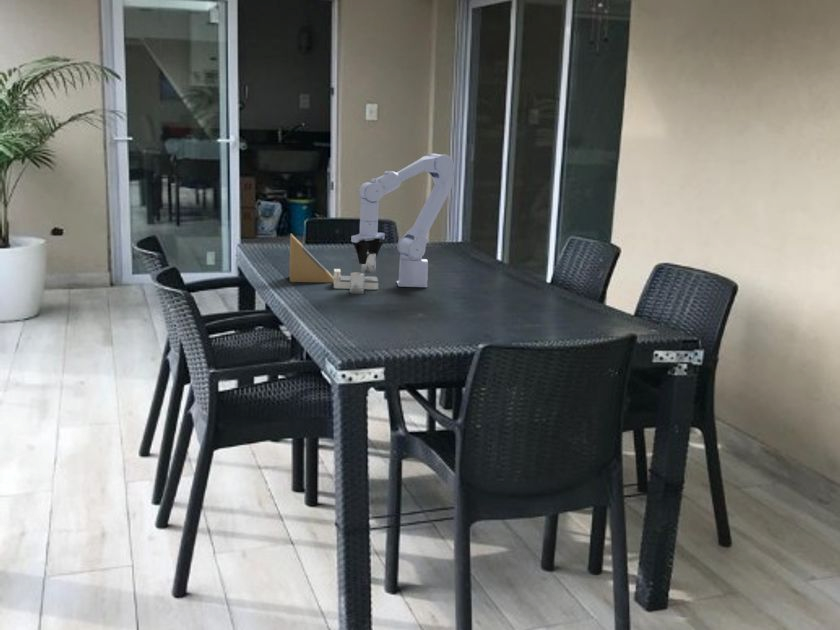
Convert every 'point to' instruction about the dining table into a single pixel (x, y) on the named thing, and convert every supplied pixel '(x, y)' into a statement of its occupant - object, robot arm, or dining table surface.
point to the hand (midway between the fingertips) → (367, 263)
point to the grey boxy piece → (345, 281)
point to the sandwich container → (305, 265)
